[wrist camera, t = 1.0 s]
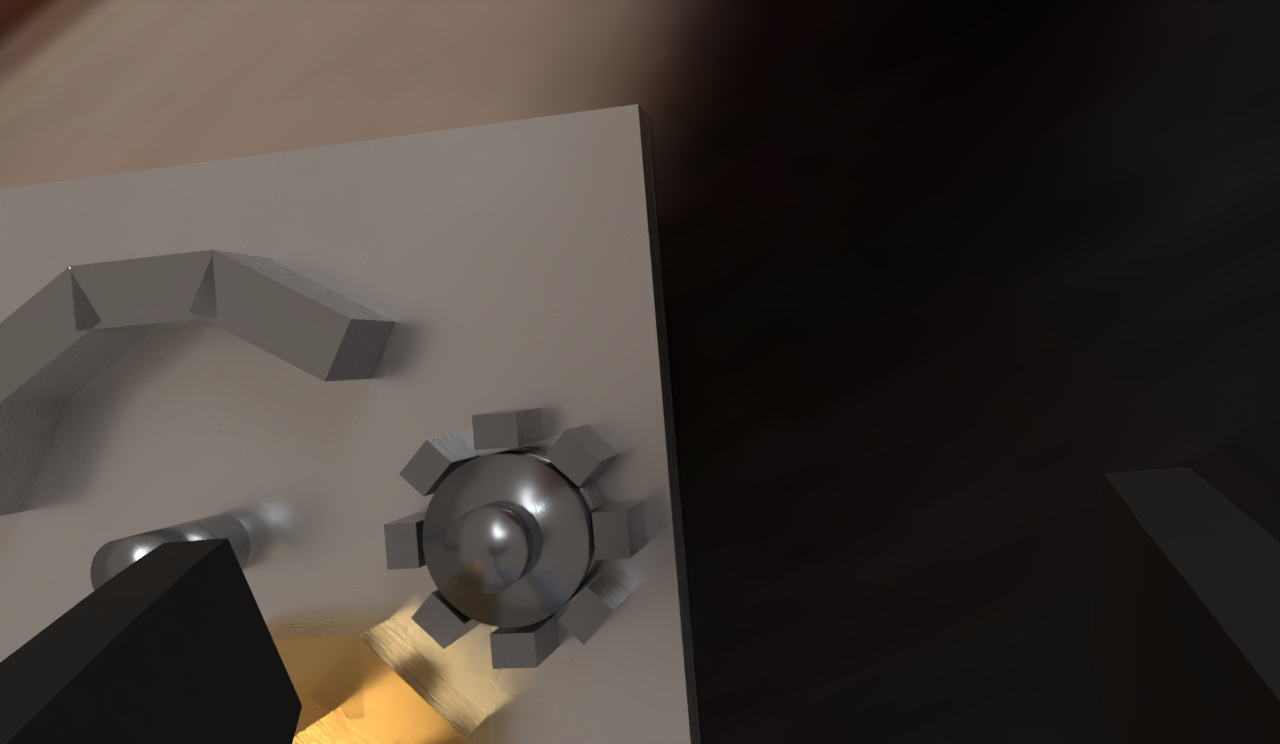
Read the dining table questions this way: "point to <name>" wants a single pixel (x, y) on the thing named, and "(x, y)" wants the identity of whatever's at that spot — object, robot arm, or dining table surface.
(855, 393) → the dining table surface
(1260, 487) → the dining table surface
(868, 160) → the dining table surface
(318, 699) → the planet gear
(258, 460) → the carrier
